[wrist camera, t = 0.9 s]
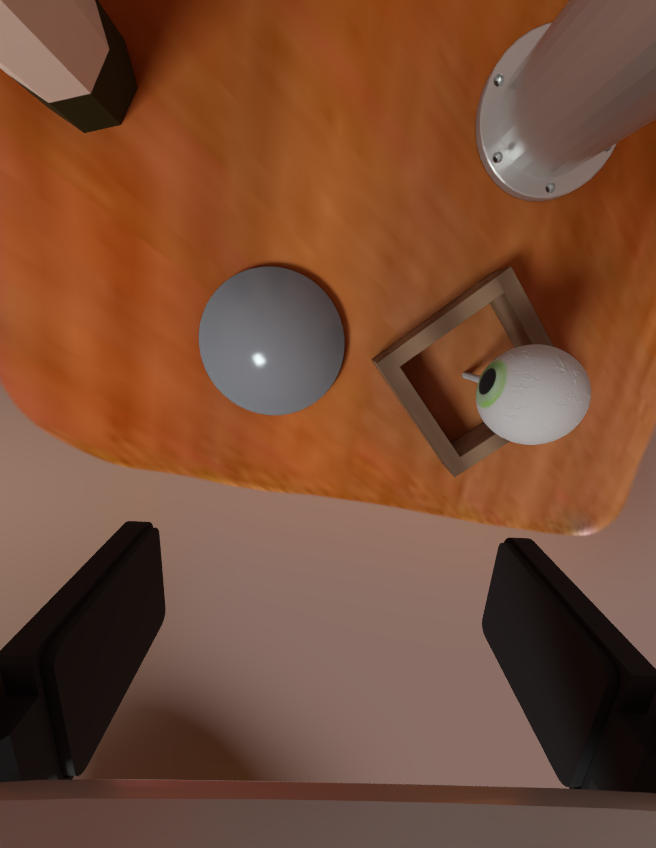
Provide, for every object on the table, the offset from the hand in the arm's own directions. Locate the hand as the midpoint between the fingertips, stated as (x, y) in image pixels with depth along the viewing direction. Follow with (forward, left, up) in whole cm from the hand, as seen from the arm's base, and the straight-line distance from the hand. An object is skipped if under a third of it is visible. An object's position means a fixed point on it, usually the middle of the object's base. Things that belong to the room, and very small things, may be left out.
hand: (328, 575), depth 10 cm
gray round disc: (+1, -7, -28) cm, 29 cm away
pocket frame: (-13, +7, -28) cm, 32 cm away
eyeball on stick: (-13, +7, -28) cm, 32 cm away
